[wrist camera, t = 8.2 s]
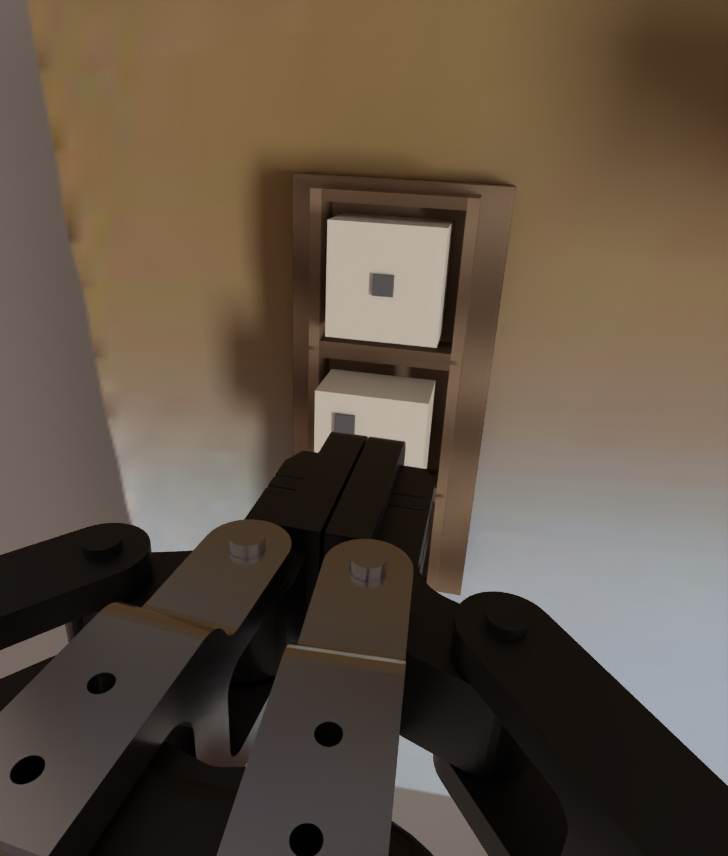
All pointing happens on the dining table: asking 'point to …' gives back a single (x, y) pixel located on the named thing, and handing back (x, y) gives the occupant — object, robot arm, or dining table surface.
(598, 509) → the dining table surface
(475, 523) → the dining table surface
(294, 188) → the brown tile tray
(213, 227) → the dining table surface
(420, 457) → the tile two
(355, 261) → the tile one
